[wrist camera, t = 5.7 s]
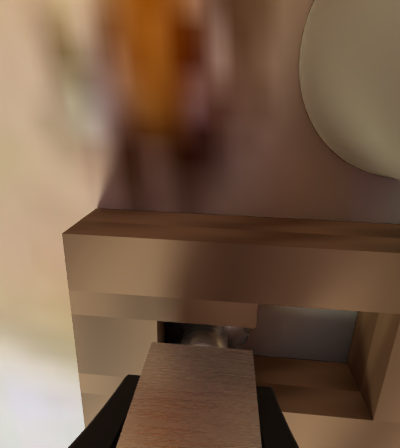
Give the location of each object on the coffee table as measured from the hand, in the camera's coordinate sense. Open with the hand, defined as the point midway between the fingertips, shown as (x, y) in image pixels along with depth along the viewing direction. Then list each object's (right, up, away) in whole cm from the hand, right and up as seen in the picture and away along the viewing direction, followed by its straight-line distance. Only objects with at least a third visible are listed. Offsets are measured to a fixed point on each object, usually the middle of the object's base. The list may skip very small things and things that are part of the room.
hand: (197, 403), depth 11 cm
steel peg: (0, +2, +5) cm, 6 cm away
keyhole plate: (+2, +2, +5) cm, 6 cm away
